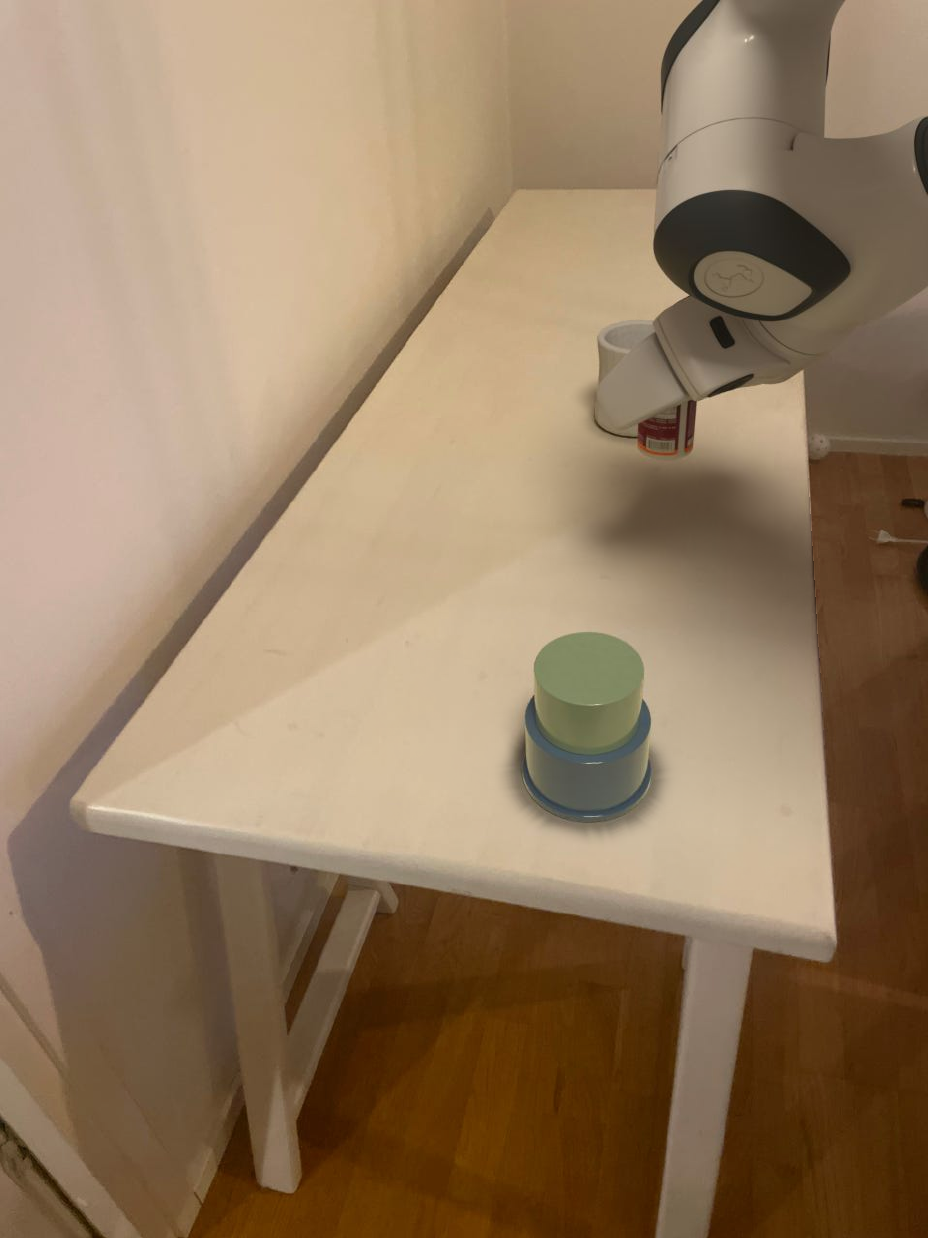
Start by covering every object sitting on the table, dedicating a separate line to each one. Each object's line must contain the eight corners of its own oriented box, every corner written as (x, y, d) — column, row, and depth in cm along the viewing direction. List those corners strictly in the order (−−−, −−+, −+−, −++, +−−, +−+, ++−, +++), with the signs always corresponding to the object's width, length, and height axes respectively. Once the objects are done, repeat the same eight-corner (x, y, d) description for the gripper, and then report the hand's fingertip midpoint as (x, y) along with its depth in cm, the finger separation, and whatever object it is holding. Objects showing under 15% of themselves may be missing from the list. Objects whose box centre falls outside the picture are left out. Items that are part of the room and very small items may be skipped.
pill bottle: (671, 430, 83) (677, 339, 78) (704, 452, 80) (713, 359, 74) (625, 444, 82) (629, 353, 77) (657, 468, 78) (663, 373, 73)
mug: (674, 441, 102) (681, 353, 95) (590, 438, 104) (592, 351, 97) (677, 390, 111) (684, 307, 105) (600, 388, 113) (602, 306, 107)
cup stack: (662, 740, 68) (672, 635, 62) (635, 836, 62) (644, 729, 55) (542, 715, 71) (540, 612, 65) (505, 805, 64) (499, 700, 58)
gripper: (844, 240, 70) (730, 330, 83) (644, 317, 62) (551, 404, 74) (884, 314, 70) (763, 393, 83) (689, 401, 62) (588, 475, 74)
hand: (661, 399), depth 78 cm, fingers closed on pill bottle, 5 cm apart
